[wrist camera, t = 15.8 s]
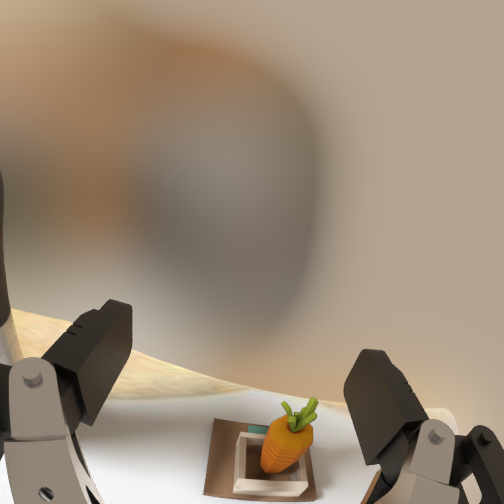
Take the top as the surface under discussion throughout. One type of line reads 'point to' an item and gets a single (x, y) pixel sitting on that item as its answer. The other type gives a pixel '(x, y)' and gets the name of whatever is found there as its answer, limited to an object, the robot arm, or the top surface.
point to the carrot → (288, 438)
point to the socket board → (252, 467)
